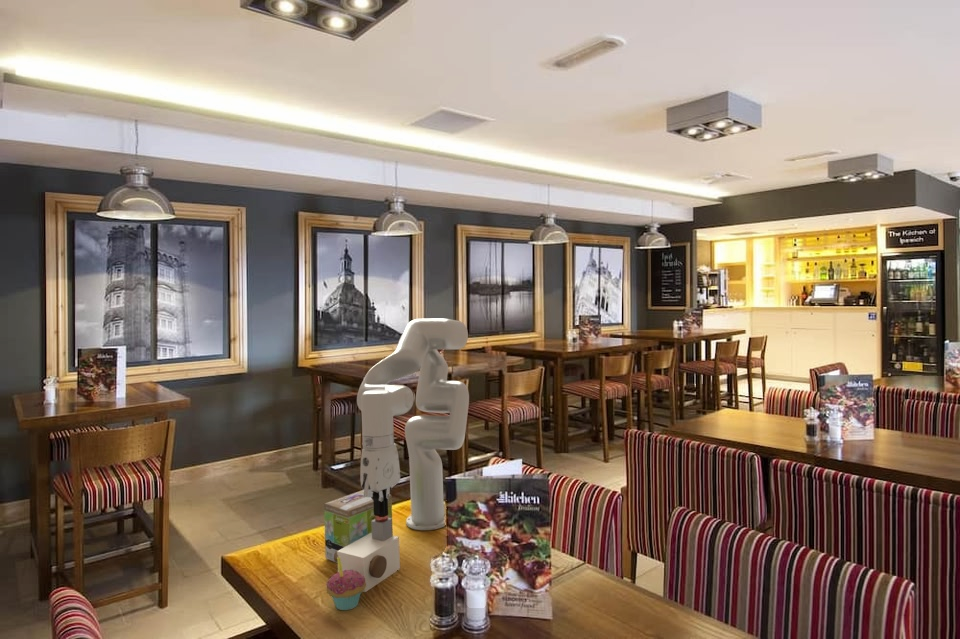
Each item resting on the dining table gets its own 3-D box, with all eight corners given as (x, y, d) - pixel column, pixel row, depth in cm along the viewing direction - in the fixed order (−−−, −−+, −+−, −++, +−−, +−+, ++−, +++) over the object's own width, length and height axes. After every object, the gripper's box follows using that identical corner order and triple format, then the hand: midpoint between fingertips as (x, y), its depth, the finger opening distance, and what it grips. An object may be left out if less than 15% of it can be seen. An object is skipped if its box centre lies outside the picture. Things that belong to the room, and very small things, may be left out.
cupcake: (347, 618, 129) (344, 562, 128) (318, 608, 133) (315, 554, 133) (374, 600, 136) (372, 547, 135) (346, 591, 141) (344, 540, 140)
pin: (387, 572, 145) (386, 552, 144) (373, 581, 140) (372, 561, 140) (344, 561, 151) (344, 542, 151) (330, 569, 147) (330, 550, 147)
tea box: (350, 569, 152) (348, 510, 151) (324, 559, 158) (322, 502, 157) (394, 547, 164) (392, 493, 163) (368, 539, 170) (366, 486, 169)
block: (374, 562, 155) (372, 514, 154) (400, 568, 151) (398, 519, 150) (338, 584, 144) (336, 532, 143) (364, 592, 140) (362, 538, 139)
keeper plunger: (381, 532, 153) (380, 511, 153) (391, 535, 151) (390, 513, 151) (373, 537, 150) (372, 515, 150) (383, 540, 148) (382, 518, 148)
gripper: (370, 449, 141) (372, 528, 142) (409, 435, 154) (411, 507, 155) (345, 446, 145) (348, 523, 146) (385, 433, 158) (388, 503, 158)
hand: (381, 515), depth 150 cm, fingers closed
